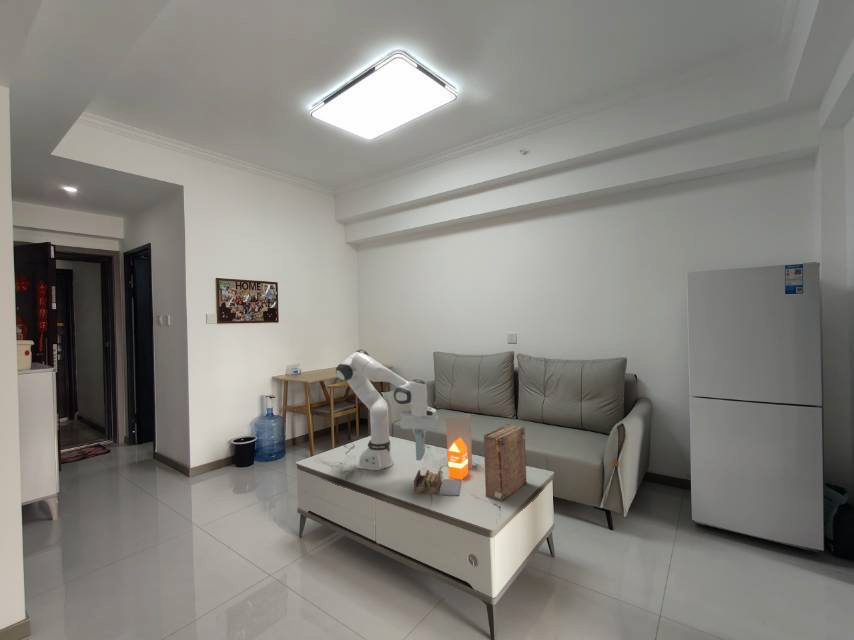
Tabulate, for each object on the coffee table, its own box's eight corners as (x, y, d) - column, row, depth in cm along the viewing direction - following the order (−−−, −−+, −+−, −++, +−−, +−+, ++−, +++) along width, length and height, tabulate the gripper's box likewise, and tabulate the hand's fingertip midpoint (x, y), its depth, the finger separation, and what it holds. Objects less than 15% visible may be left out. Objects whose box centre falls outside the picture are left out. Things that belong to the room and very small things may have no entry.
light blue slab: (416, 460, 199) (415, 434, 199) (420, 451, 211) (419, 427, 210) (421, 460, 198) (420, 435, 198) (424, 451, 210) (424, 427, 210)
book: (510, 478, 211) (509, 423, 210) (526, 483, 205) (524, 426, 204) (485, 496, 192) (483, 435, 191) (502, 501, 186) (500, 438, 185)
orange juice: (468, 473, 220) (467, 438, 219) (461, 479, 212) (460, 442, 212) (455, 471, 224) (454, 436, 223) (448, 477, 216) (447, 441, 216)
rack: (413, 493, 197) (413, 481, 197) (419, 480, 213) (418, 469, 213) (437, 494, 195) (436, 482, 195) (440, 480, 211) (440, 469, 211)
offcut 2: (431, 491, 199) (430, 480, 199) (433, 483, 208) (433, 473, 208) (434, 491, 199) (434, 480, 199) (437, 483, 208) (436, 473, 208)
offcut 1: (426, 491, 199) (426, 479, 199) (429, 483, 209) (428, 472, 209) (430, 491, 199) (429, 480, 199) (433, 483, 209) (432, 472, 209)
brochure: (472, 464, 233) (470, 414, 232) (472, 468, 227) (470, 416, 227) (448, 464, 234) (446, 414, 234) (447, 468, 229) (446, 416, 228)
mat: (438, 495, 194) (438, 494, 194) (442, 480, 212) (442, 479, 212) (458, 496, 193) (458, 494, 193) (461, 480, 211) (461, 479, 211)
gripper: (398, 412, 203) (399, 438, 203) (437, 412, 200) (438, 439, 200) (401, 409, 209) (401, 435, 209) (439, 409, 206) (439, 435, 206)
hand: (420, 437), depth 204 cm, fingers closed on light blue slab, 2 cm apart
